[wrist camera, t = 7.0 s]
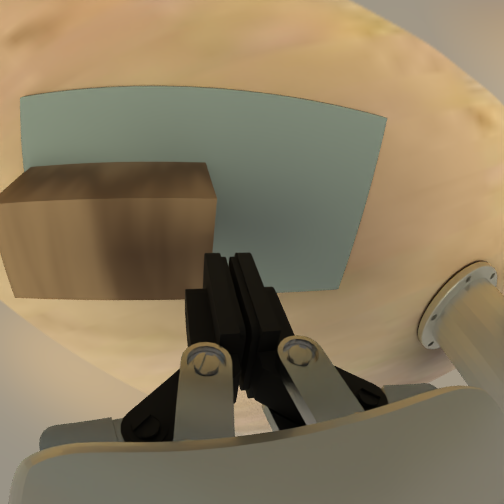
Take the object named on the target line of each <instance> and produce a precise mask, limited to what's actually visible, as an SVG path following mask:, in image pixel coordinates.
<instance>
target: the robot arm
mask: <svg viewBox="0 0 504 504" xmlns="http://www.w3.org/2000/svg"><path fill="white" fill-rule="evenodd" d="M496 284H497V272H496V270H495V268H494V267H493V266H492V265H490V264H489V263H487V262H485V261H484V262H477V263H474V264H471V265H470V266H468V267H466V268H464V269H463V270H462V271H460V272H459V273H457V274H456V275H455V276H454V277H453V278H452V279H451V280H450V281H449V282H448V283H447V284H446V285H445V286H444V287H443V288H442V289H441V290H440V291H439V293H438V294H437V295H436V296H435V298H434V299H433V300H432V302H431V303H430V305H429V306H428V308H427V310H426V311H425V313H424V315H423V317H422V319H421V322H420V325H419V329H418V338H419V340H420V342H421V343H422V345H423V346H424V347H425V348H427V349H437V348H440V347H441V348H442V350H443V351H444V352H445V354H446V355H447V356H448V358H449V359H450V361H451V362H452V363H453V365H454V366H455V367H456V369H457V370H458V372H459V373H460V374H461V376H462V377H463V379H464V380H465V382H466V383H467V384H468V386H450V387H444V388H439V389H437V388H436V387H435V386H433V385H431V384H426V383H421V384H406V385H384V386H383V387H382V388H379V387H378V386H376V385H374V384H372V383H370V382H368V381H366V380H364V379H362V378H359V377H357V376H355V375H353V374H351V373H349V372H346V371H344V370H342V369H340V368H338V367H336V366H334V365H333V364H332V362H331V361H330V359H329V358H328V357H327V355H326V354H325V352H324V351H323V349H322V348H321V346H320V345H319V344H318V343H317V342H315V341H314V340H312V339H311V338H308V337H305V336H299V335H296V336H295V335H294V333H293V331H292V328H291V326H290V324H289V321H288V319H287V317H286V314H285V312H284V310H283V307H282V305H281V303H280V300H279V298H278V296H277V293H276V291H275V289H274V287H272V286H271V287H264V285H263V282H262V280H261V277H260V275H259V272H258V269H257V267H256V264H255V262H254V259H253V257H252V254H251V253H235V255H234V257H230V258H229V265H228V263H227V259H226V257H221V254H220V253H205V254H204V270H203V289H185V318H186V332H187V342H188V348H187V349H186V350H185V351H184V352H183V354H182V357H181V364H180V369H179V370H178V371H176V372H175V373H174V374H173V375H172V376H171V377H170V378H168V379H167V380H166V381H165V382H164V383H163V384H161V385H160V386H159V387H158V388H157V389H156V390H154V391H153V392H152V393H151V394H150V395H148V396H147V397H146V398H145V399H144V400H143V401H141V402H140V403H139V404H138V405H137V406H135V407H134V408H133V409H132V410H131V411H130V412H128V413H127V414H126V416H125V417H124V418H121V419H115V420H112V418H111V417H110V418H104V419H97V420H92V421H84V422H77V423H69V424H61V425H54V426H51V427H48V428H47V429H46V430H44V431H43V433H42V435H41V437H40V442H39V446H40V451H39V452H36V453H34V454H32V455H30V456H29V457H27V458H25V459H24V460H23V461H22V462H21V463H20V465H19V466H18V468H17V470H16V472H15V475H14V477H13V480H12V485H11V489H10V495H9V503H8V504H504V295H503V294H502V293H501V292H500V291H499V290H498V289H497V288H496ZM239 386H240V389H241V391H242V390H246V393H247V397H248V398H254V399H255V400H256V401H258V402H260V403H262V409H263V412H264V414H265V416H266V418H267V420H268V422H269V424H270V426H271V428H272V430H273V432H267V433H260V434H253V435H245V436H238V437H235V428H234V403H235V402H236V398H237V392H238V387H239Z"/></svg>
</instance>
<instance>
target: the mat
mask: <svg viewBox="0 0 504 504" xmlns="http://www.w3.org/2000/svg"><path fill="white" fill-rule="evenodd" d="M20 121H21V142H22V155H23V165H24V172H25V171H26V170H28V169H29V168H30V167H36V166H49V165H63V164H80V163H102V162H205V163H206V165H207V168H208V171H209V175H210V178H211V181H212V184H213V187H214V191H215V194H216V197H217V205H216V216H215V228H214V240H213V253H220V254H221V257H226V259H227V263H228V265H229V258H230V257H234V255H235V253H251V254H252V257H253V259H254V262H255V264H256V267H257V269H258V272H259V275H260V277H261V280H262V282H263V285H264V287H271V286H272V287H274V289H275V291H276V293H283V292H301V291H318V290H334V289H338V288H339V285H340V282H341V280H342V277H343V274H344V271H345V268H346V265H347V262H348V259H349V256H350V253H351V250H352V247H353V244H354V240H355V237H356V234H357V231H358V228H359V224H360V221H361V218H362V214H363V211H364V207H365V204H366V200H367V197H368V193H369V190H370V186H371V182H372V179H373V175H374V171H375V167H376V163H377V159H378V155H379V151H380V147H381V143H382V139H383V135H384V130H385V126H386V121H387V118H385V117H382V116H379V115H375V114H371V113H367V112H363V111H359V110H355V109H351V108H346V107H342V106H337V105H332V104H328V103H323V102H317V101H312V100H306V99H301V98H295V97H289V96H282V95H275V94H268V93H260V92H252V91H242V90H232V89H220V88H206V87H187V86H120V87H101V88H87V89H76V90H66V91H58V92H50V93H43V94H36V95H30V96H24V97H21V98H20Z"/></svg>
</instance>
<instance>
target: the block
mask: <svg viewBox="0 0 504 504" xmlns="http://www.w3.org/2000/svg"><path fill="white" fill-rule="evenodd" d="M216 205H217V197H216V194H215V191H214V187H213V184H212V181H211V178H210V175H209V171H208V168H207V165H206V163H205V162H102V163H80V164H63V165H49V166H36V167H30V168H29V169H28V170H26V171H25V172H24V173H23V174H22V175H21V176H19V177H18V178H17V179H16V180H15V181H14V182H12V183H11V184H10V185H9V186H8V187H7V188H6V189H5V190H4V191H3V192H1V193H0V253H1V257H2V260H3V263H4V267H5V270H6V273H7V276H8V279H9V282H10V285H11V288H12V291H13V293H14V296H15V298H37V299H74V300H177V299H185V289H203V270H204V254H205V253H213V240H214V228H215V216H216Z"/></svg>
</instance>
